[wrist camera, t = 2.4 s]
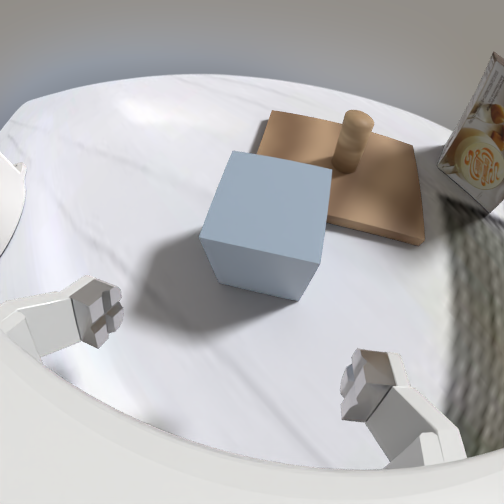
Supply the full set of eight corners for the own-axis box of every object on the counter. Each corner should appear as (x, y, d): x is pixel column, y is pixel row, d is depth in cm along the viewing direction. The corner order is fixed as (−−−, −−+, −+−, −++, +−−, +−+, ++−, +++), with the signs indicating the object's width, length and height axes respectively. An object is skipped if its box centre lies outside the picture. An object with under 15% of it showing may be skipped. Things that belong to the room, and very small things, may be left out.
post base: (243, 204, 23) (237, 148, 17) (271, 118, 28) (273, 67, 21) (418, 246, 21) (459, 206, 15) (408, 152, 26) (431, 109, 20)
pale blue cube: (218, 282, 20) (198, 237, 13) (239, 214, 23) (232, 150, 16) (298, 301, 20) (320, 263, 13) (311, 230, 22) (332, 169, 15)
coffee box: (493, 185, 24) (554, 106, 10) (489, 215, 23) (566, 128, 8) (444, 143, 27) (493, 49, 12) (434, 166, 25) (496, 58, 10)
